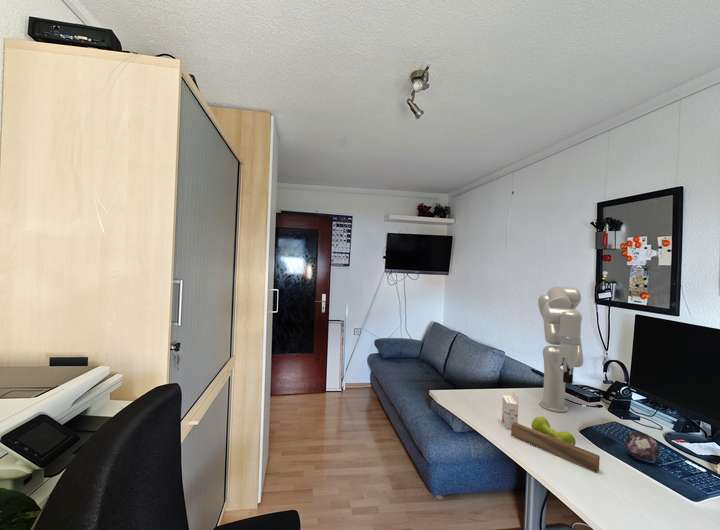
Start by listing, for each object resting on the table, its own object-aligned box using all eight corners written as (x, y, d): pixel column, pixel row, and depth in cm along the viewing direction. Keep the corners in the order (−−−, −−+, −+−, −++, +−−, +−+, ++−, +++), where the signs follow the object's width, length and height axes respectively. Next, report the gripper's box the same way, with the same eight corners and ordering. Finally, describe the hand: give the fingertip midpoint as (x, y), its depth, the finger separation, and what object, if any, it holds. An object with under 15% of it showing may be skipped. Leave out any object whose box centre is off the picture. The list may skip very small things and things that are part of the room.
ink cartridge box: (501, 419, 150) (502, 388, 150) (512, 421, 149) (513, 389, 149) (505, 428, 142) (506, 395, 142) (517, 430, 141) (519, 396, 141)
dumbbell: (577, 452, 125) (578, 434, 125) (560, 454, 124) (561, 436, 124) (544, 431, 141) (545, 414, 141) (529, 432, 140) (529, 416, 140)
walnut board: (514, 433, 138) (514, 422, 138) (599, 469, 115) (599, 455, 115) (511, 435, 136) (511, 424, 136) (596, 472, 113) (597, 458, 113)
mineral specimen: (616, 449, 125) (622, 424, 126) (631, 456, 128) (637, 431, 130) (646, 464, 116) (653, 436, 117) (661, 470, 119) (668, 443, 121)
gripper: (565, 336, 146) (564, 376, 146) (553, 341, 136) (551, 384, 137) (585, 339, 140) (583, 381, 141) (574, 345, 130) (572, 390, 131)
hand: (567, 382), depth 139 cm, fingers closed
